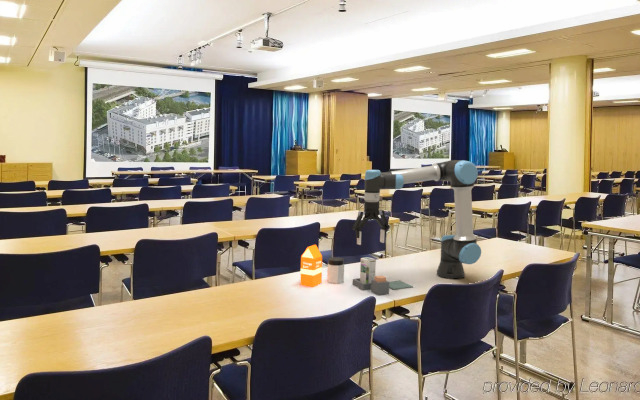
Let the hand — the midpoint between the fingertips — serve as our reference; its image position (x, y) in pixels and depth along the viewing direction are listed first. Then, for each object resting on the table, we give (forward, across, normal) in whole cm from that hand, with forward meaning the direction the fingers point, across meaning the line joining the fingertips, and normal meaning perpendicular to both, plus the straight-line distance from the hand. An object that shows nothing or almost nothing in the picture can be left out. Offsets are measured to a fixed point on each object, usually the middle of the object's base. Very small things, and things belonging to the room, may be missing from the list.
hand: (370, 243), depth 241 cm
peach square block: (+18, 0, -10) cm, 21 cm away
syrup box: (+23, 0, +2) cm, 23 cm away
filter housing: (+22, 0, -3) cm, 23 cm away
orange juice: (+23, -25, +16) cm, 37 cm away
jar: (+23, -11, +16) cm, 30 cm away
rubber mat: (+22, +15, -2) cm, 27 cm away
